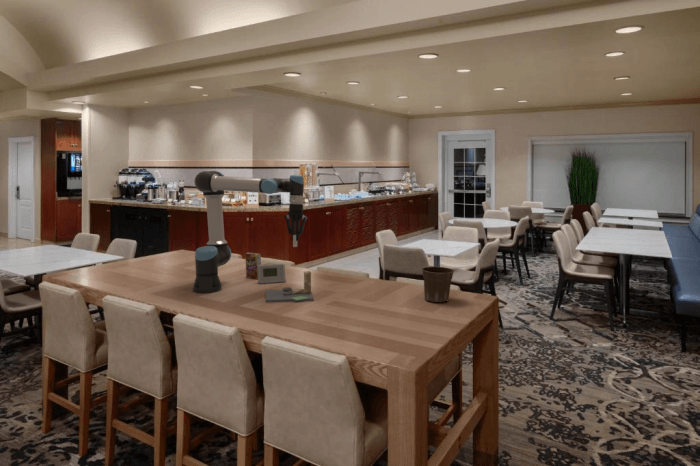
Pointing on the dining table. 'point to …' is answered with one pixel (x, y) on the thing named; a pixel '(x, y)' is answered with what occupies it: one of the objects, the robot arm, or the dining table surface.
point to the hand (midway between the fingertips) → (295, 246)
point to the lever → (306, 285)
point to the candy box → (252, 265)
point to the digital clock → (271, 273)
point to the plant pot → (437, 283)
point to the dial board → (287, 296)
